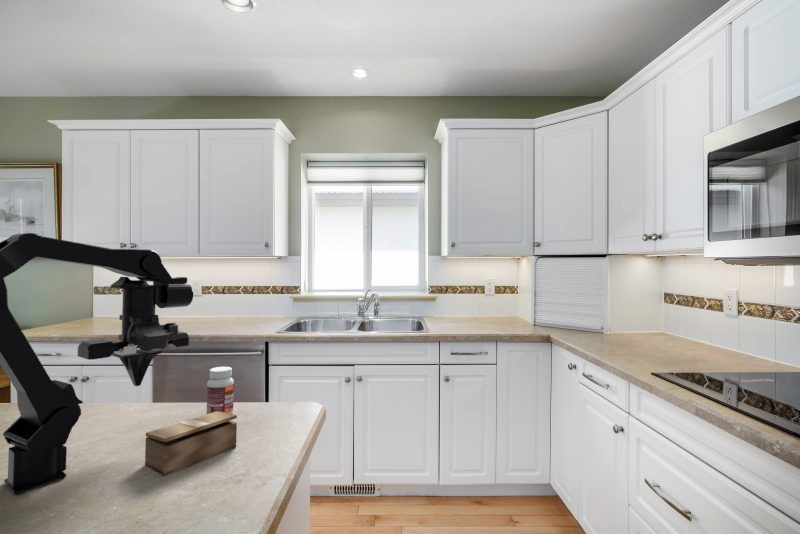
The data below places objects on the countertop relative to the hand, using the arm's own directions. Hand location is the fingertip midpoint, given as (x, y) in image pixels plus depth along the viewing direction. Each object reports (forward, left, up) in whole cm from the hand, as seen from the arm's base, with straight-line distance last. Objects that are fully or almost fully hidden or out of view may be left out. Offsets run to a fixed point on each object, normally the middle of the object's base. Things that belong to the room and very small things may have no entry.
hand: (137, 385), depth 81 cm
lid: (+4, -14, -6) cm, 16 cm away
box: (+4, -15, -12) cm, 19 cm away
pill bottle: (+20, +2, -12) cm, 24 cm away
